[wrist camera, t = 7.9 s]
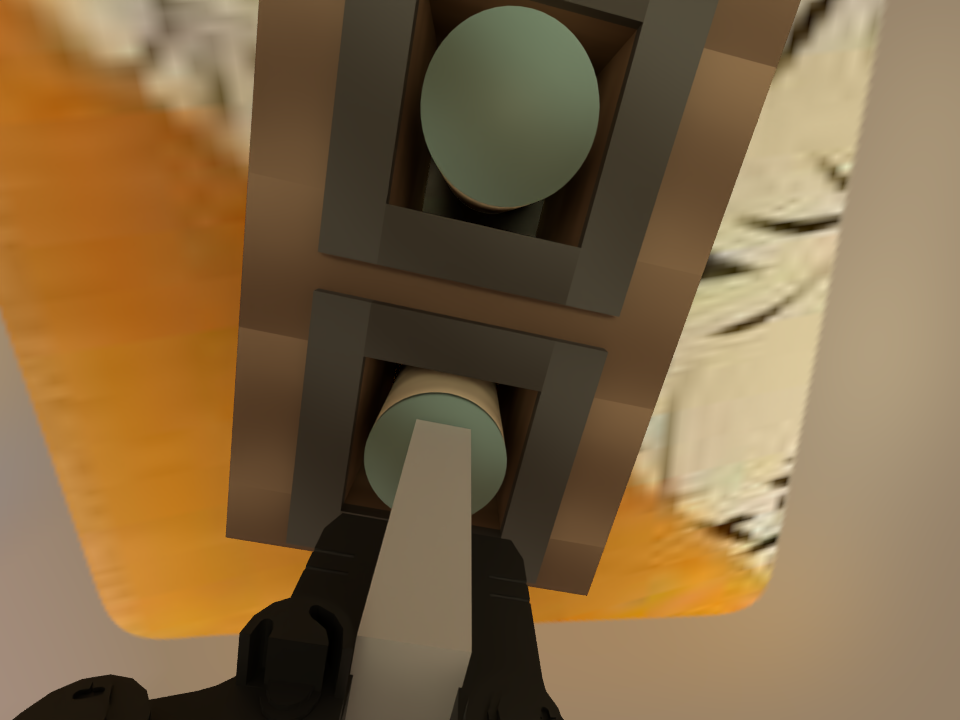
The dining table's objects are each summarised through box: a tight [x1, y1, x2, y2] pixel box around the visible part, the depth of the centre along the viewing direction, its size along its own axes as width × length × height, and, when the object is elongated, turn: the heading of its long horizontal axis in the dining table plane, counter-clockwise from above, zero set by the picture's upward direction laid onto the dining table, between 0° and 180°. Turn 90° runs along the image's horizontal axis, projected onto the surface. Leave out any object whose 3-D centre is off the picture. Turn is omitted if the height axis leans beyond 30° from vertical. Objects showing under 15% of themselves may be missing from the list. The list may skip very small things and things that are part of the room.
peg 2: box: [421, 6, 600, 214], centre depth 14 cm, size 4×4×8 cm
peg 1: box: [364, 364, 507, 515], centre depth 16 cm, size 4×4×8 cm
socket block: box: [226, 0, 801, 596], centre depth 16 cm, size 18×12×8 cm, turn 168°
